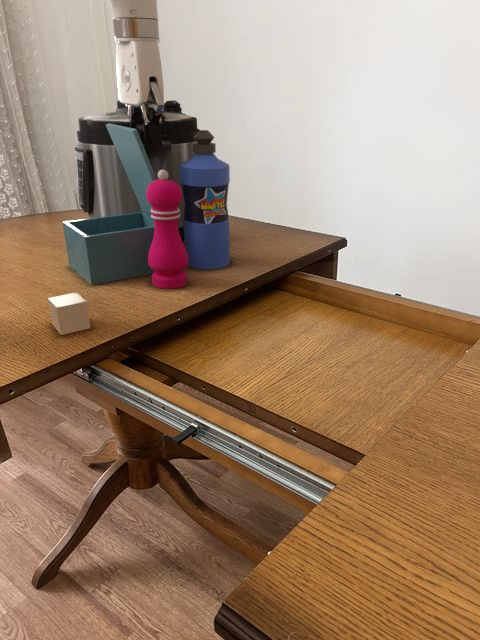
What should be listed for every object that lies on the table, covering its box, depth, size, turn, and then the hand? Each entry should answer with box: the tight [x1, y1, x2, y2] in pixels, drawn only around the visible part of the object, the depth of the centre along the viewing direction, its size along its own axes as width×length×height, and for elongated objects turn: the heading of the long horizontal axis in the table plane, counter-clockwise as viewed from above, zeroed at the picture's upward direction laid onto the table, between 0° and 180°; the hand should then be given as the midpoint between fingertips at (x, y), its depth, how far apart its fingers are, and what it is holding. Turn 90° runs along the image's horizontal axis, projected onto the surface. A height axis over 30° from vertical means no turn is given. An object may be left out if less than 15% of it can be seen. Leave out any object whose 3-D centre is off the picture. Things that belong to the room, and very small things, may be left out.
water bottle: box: [180, 129, 231, 270], centre depth 105 cm, size 9×9×25 cm
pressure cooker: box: [74, 98, 201, 239], centre depth 124 cm, size 30×28×32 cm
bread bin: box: [62, 212, 155, 286], centre depth 105 cm, size 17×13×9 cm
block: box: [47, 292, 91, 336], centre depth 81 cm, size 4×4×4 cm
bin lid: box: [106, 123, 157, 214], centre depth 103 cm, size 17×13×5 cm
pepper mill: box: [146, 170, 189, 290], centre depth 95 cm, size 7×7×20 cm
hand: (146, 144), depth 101 cm, fingers closed on bin lid, 5 cm apart
